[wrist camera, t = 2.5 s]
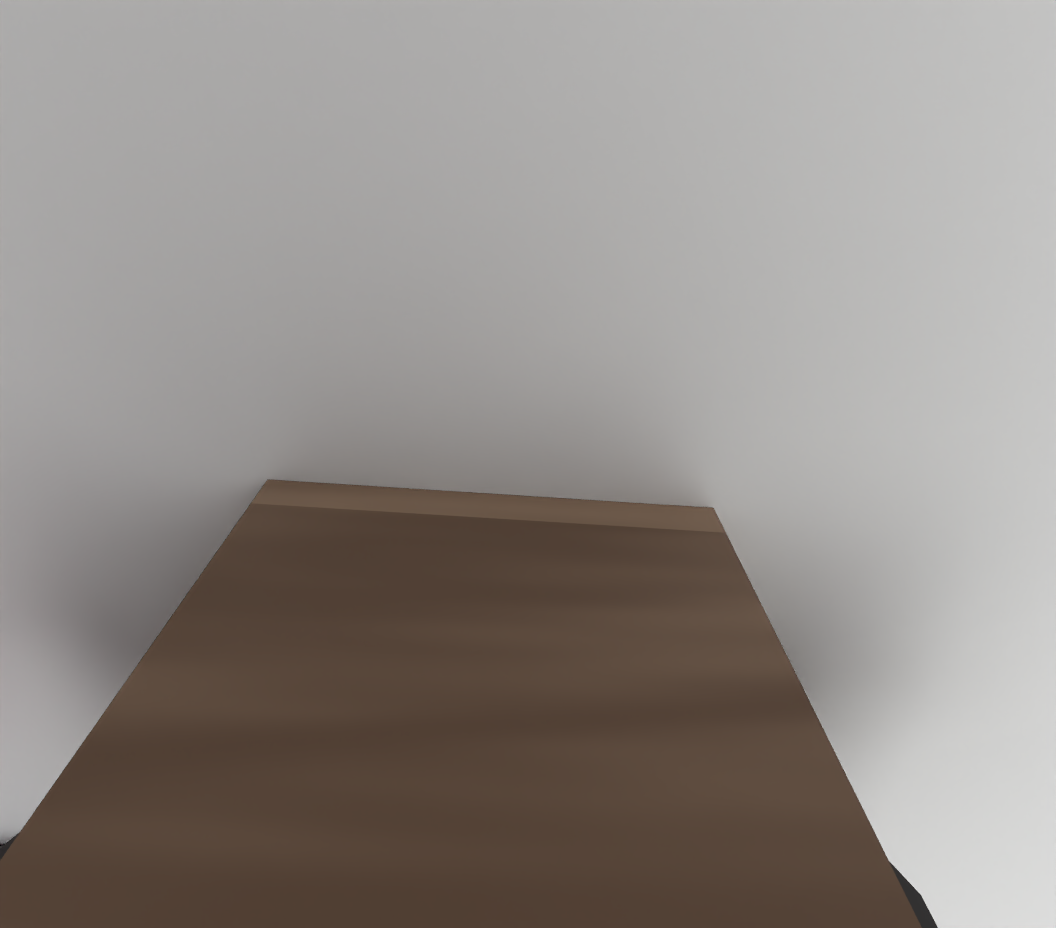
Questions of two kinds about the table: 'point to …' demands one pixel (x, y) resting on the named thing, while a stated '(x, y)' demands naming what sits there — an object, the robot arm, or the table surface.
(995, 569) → the table surface
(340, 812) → the pen cup
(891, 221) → the table surface
